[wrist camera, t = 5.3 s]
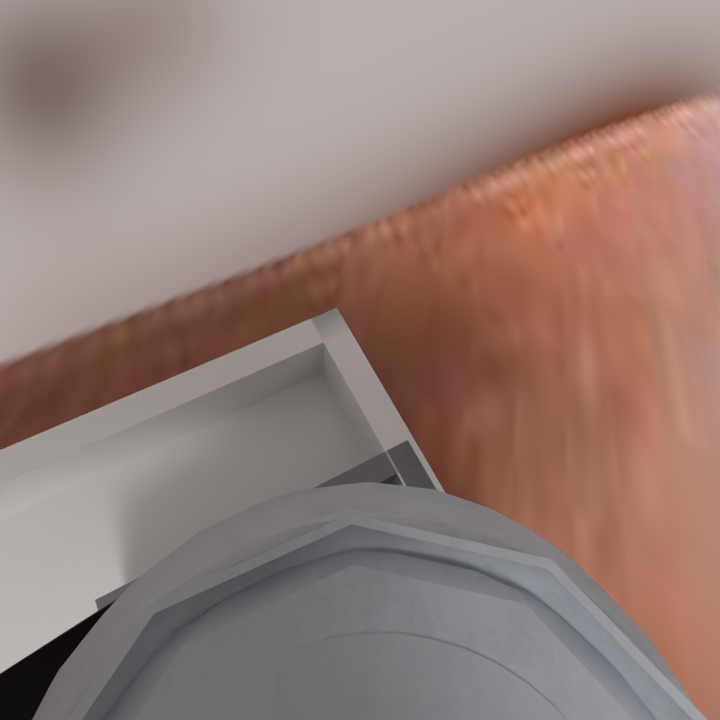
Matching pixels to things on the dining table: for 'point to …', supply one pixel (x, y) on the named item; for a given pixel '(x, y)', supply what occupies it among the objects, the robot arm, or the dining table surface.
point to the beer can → (366, 623)
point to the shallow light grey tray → (186, 470)
